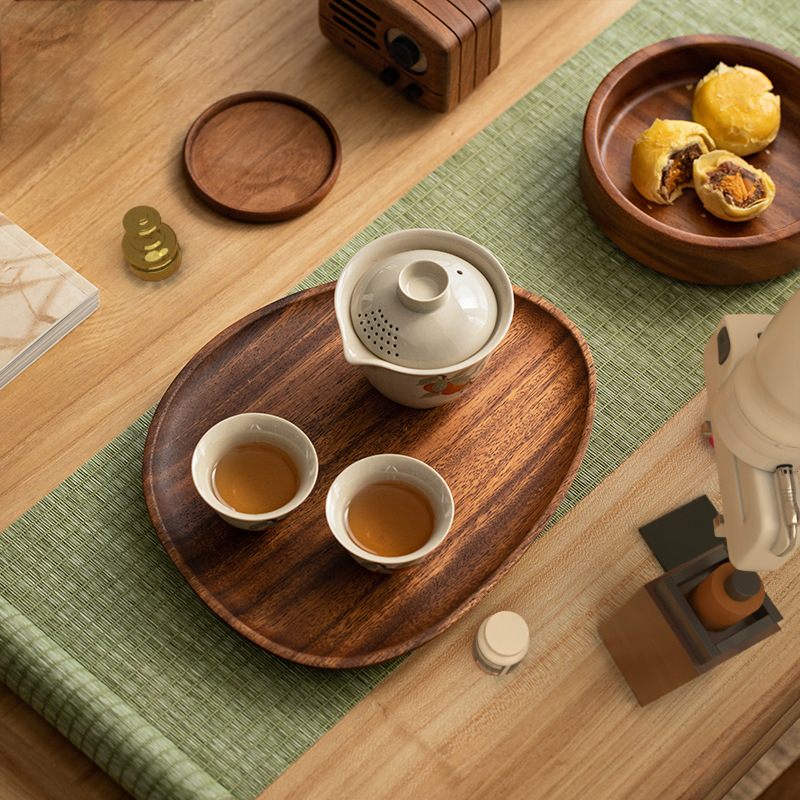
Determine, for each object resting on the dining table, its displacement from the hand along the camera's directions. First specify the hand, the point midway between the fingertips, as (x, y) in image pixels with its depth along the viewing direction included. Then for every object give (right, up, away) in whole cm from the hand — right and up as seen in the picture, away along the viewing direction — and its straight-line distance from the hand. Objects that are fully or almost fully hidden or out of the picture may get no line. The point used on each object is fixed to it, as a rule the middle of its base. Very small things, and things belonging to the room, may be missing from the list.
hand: (715, 478), depth 82 cm
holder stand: (+1, -22, +24) cm, 33 cm away
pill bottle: (-17, -22, +24) cm, 37 cm away
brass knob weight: (-62, +26, +46) cm, 82 cm away
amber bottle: (+2, -13, +6) cm, 15 cm away
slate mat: (+8, -11, +30) cm, 33 cm away
